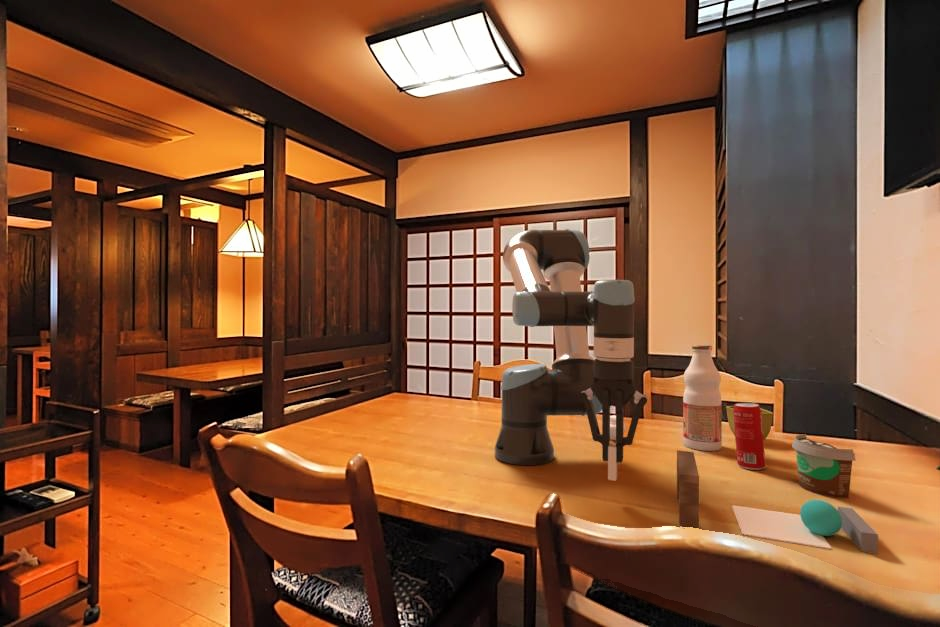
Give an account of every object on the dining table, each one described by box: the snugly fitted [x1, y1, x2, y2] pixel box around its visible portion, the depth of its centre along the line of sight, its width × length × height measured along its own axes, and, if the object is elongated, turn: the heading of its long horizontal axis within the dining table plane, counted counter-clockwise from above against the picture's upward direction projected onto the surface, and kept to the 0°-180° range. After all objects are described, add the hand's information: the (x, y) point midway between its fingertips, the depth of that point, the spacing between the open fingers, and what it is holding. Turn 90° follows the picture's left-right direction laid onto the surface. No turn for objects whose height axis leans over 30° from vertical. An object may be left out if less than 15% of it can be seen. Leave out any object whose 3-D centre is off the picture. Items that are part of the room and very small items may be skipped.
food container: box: [791, 433, 856, 499], centre depth 94 cm, size 12×6×10 cm, turn 5°
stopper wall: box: [837, 506, 879, 555], centre depth 74 cm, size 2×10×3 cm, turn 157°
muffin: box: [610, 414, 626, 441], centre depth 133 cm, size 6×6×7 cm
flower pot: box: [725, 405, 774, 441], centre depth 130 cm, size 9×9×9 cm
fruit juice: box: [682, 344, 723, 452], centre depth 125 cm, size 9×9×28 cm
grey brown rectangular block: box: [676, 449, 700, 529], centre depth 84 cm, size 3×14×9 cm, turn 157°
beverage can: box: [733, 402, 767, 471], centre depth 108 cm, size 6×6×15 cm
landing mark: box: [731, 504, 833, 550], centre depth 78 cm, size 12×12×1 cm
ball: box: [799, 499, 842, 537], centre depth 75 cm, size 6×6×6 cm
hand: (612, 477), depth 89 cm, fingers closed
